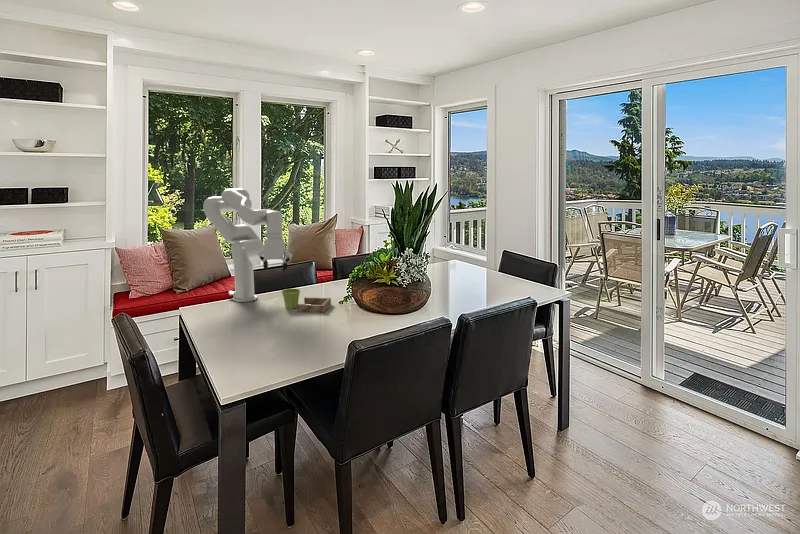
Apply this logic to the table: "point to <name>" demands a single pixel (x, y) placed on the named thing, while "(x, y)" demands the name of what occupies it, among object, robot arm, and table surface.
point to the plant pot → (291, 297)
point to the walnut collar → (314, 305)
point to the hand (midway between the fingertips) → (275, 269)
